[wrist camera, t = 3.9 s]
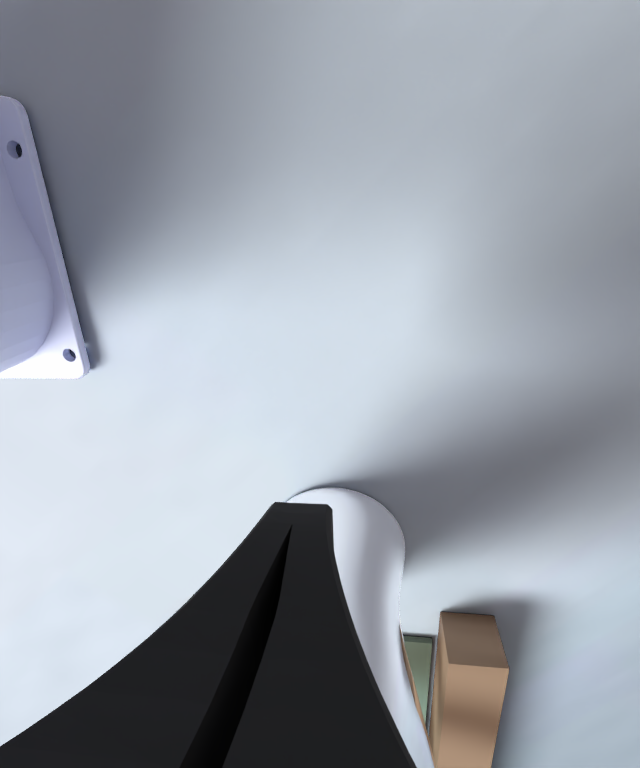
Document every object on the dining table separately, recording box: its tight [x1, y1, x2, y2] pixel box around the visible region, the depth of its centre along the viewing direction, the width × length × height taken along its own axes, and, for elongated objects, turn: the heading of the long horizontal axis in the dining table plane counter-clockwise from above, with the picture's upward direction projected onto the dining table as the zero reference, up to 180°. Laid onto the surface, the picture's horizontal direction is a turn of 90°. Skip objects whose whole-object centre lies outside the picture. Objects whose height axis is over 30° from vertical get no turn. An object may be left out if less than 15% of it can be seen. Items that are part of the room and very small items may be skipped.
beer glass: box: [286, 487, 435, 768], centre depth 13 cm, size 7×7×15 cm
